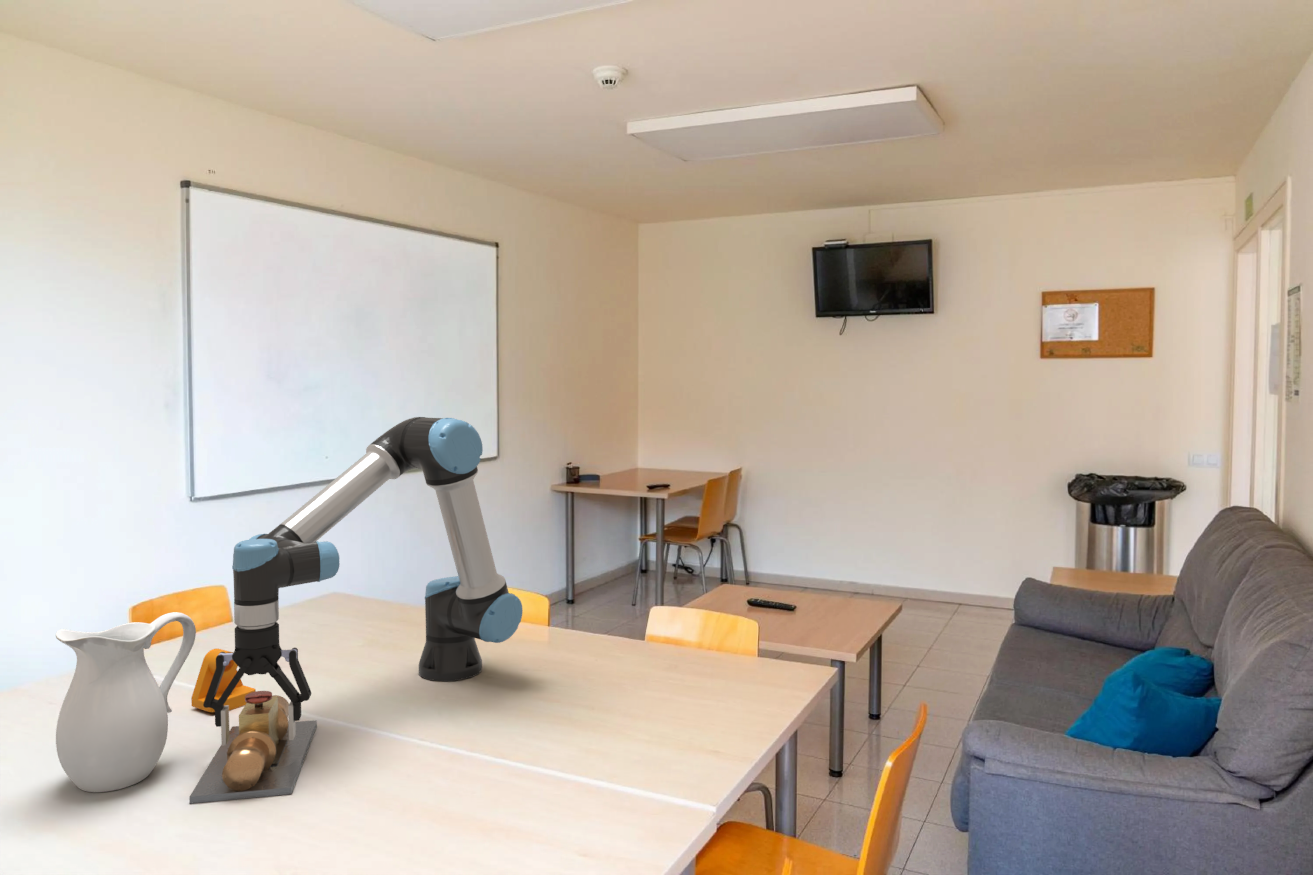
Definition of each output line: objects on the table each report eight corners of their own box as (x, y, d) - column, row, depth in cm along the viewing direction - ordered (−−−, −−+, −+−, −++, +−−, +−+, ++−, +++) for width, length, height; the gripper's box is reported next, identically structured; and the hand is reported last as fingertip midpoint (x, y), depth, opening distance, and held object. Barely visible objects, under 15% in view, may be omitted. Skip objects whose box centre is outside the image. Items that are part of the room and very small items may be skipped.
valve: (278, 741, 171) (277, 685, 170) (269, 761, 162) (268, 702, 161) (250, 744, 170) (249, 687, 169) (239, 763, 161) (238, 704, 160)
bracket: (212, 716, 187) (210, 660, 187) (191, 709, 191) (190, 655, 190) (257, 701, 197) (256, 647, 196) (237, 695, 200) (236, 642, 200)
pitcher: (87, 810, 146) (82, 644, 145) (38, 784, 155) (33, 628, 154) (224, 758, 167) (221, 612, 165) (174, 738, 175) (170, 599, 174)
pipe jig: (232, 732, 179) (231, 692, 178) (316, 725, 183) (316, 686, 182) (189, 803, 149) (188, 755, 148) (291, 794, 153) (290, 747, 152)
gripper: (326, 615, 170) (328, 727, 172) (193, 621, 165) (196, 737, 166) (321, 625, 163) (322, 742, 165) (181, 632, 158) (184, 753, 159)
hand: (259, 739), depth 166 cm, fingers open, 11 cm apart
